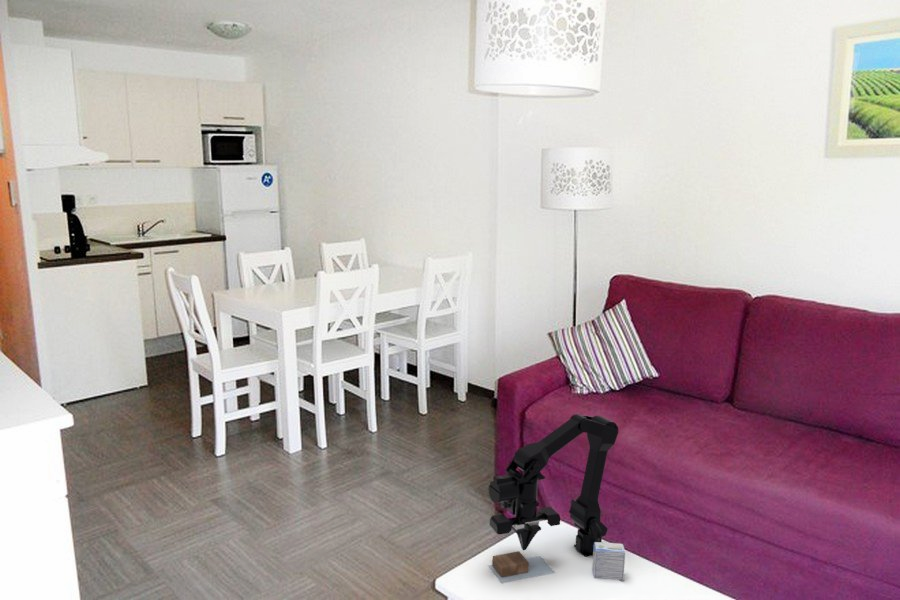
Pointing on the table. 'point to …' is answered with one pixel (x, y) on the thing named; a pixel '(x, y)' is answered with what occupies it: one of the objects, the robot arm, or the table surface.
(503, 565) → the walnut tile
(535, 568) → the mat
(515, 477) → the robot arm
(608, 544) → the medicine box
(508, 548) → the table surface
